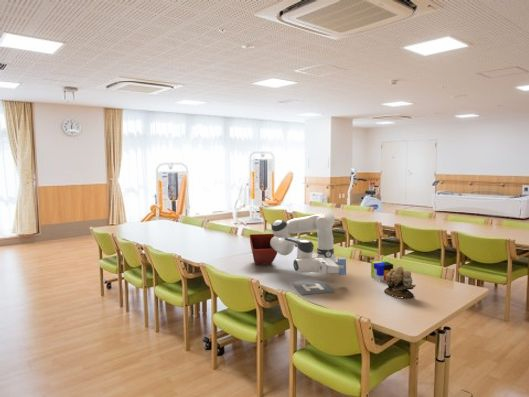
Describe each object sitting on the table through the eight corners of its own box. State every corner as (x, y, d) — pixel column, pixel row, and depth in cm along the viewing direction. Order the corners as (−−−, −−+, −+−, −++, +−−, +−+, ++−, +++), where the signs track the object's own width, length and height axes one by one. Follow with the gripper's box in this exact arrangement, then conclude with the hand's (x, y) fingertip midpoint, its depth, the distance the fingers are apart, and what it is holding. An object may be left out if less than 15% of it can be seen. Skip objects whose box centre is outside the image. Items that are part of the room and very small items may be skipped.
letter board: (292, 284, 246) (292, 283, 246) (322, 281, 250) (322, 280, 250) (301, 295, 226) (301, 294, 226) (334, 292, 230) (334, 291, 230)
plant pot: (272, 250, 307) (274, 233, 298) (277, 266, 291) (279, 248, 282) (248, 251, 304) (249, 234, 295) (251, 268, 287) (252, 249, 279)
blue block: (338, 273, 245) (337, 257, 244) (344, 273, 245) (343, 257, 244) (340, 275, 241) (339, 259, 240) (346, 274, 241) (345, 259, 240)
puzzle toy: (379, 281, 250) (379, 265, 249) (370, 276, 259) (371, 261, 258) (392, 279, 252) (393, 264, 251) (384, 275, 262) (384, 260, 261)
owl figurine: (419, 295, 224) (419, 266, 222) (410, 301, 215) (411, 271, 213) (389, 288, 236) (389, 260, 234) (380, 293, 228) (380, 265, 226)
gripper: (315, 265, 251) (336, 265, 253) (324, 275, 231) (347, 274, 233) (316, 255, 251) (337, 255, 252) (324, 264, 231) (347, 264, 232)
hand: (342, 265), depth 242 cm, fingers closed on blue block, 4 cm apart
